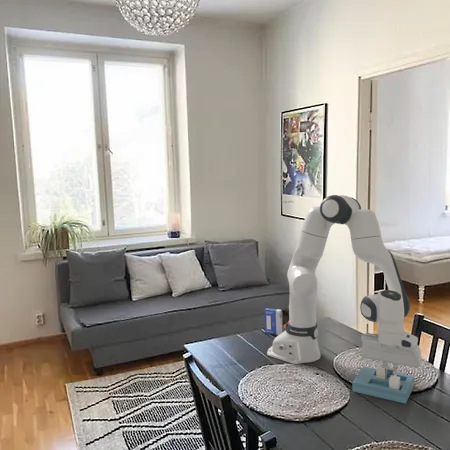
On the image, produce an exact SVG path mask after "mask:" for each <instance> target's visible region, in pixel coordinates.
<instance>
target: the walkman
mask: <svg viewBox="0 0 450 450" xmlns="http://www.w3.org/2000/svg"><path fill="white" fill-rule="evenodd" d="M263 312H264V333H265V334H270V335H277V336H278V335H279V334H281V333H282V332H283V319H282V316H283V315H282V313H283V312H282V309H278V308H270V307H269V308H268V307H266V308H264V311H263Z"/></svg>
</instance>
